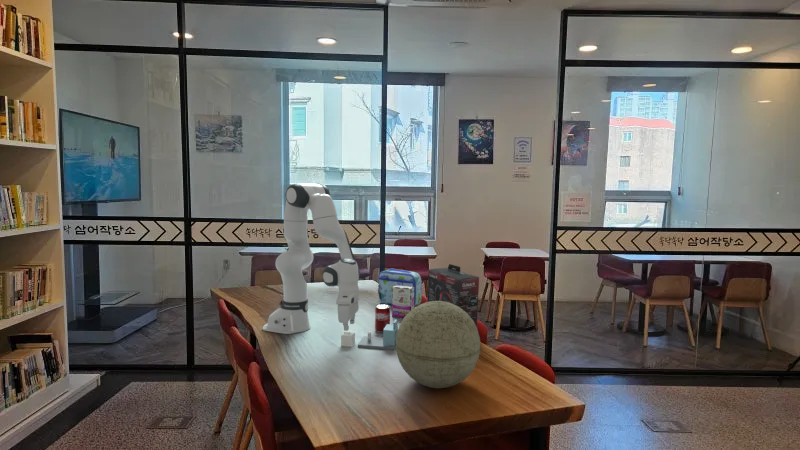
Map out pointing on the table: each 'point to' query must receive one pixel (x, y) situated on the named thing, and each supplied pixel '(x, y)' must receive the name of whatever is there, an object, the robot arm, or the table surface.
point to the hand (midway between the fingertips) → (349, 326)
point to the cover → (390, 333)
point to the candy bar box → (402, 300)
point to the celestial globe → (438, 344)
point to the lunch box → (401, 279)
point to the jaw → (348, 339)
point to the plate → (374, 343)
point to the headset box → (454, 289)
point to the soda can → (382, 317)
